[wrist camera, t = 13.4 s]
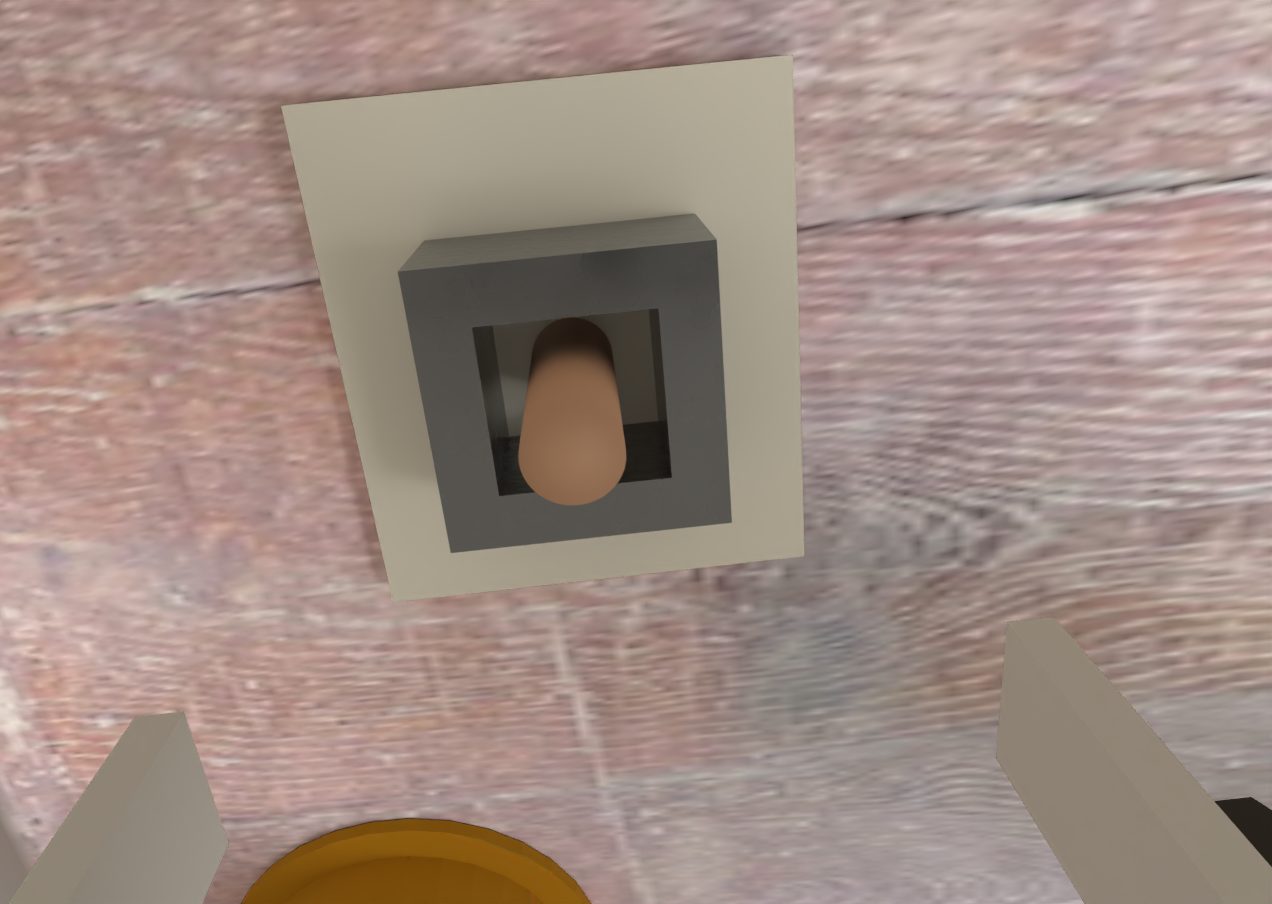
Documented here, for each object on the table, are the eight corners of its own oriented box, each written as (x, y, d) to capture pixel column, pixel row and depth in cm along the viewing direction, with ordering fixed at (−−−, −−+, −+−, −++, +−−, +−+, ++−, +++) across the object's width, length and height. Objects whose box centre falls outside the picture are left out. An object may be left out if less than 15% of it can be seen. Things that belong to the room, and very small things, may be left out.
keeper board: (782, 55, 30) (880, 50, 21) (795, 538, 37) (873, 702, 28) (294, 104, 30) (162, 122, 20) (399, 582, 37) (339, 764, 27)
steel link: (695, 213, 31) (716, 239, 26) (710, 461, 34) (731, 522, 30) (423, 240, 31) (397, 271, 26) (467, 487, 34) (450, 553, 29)
